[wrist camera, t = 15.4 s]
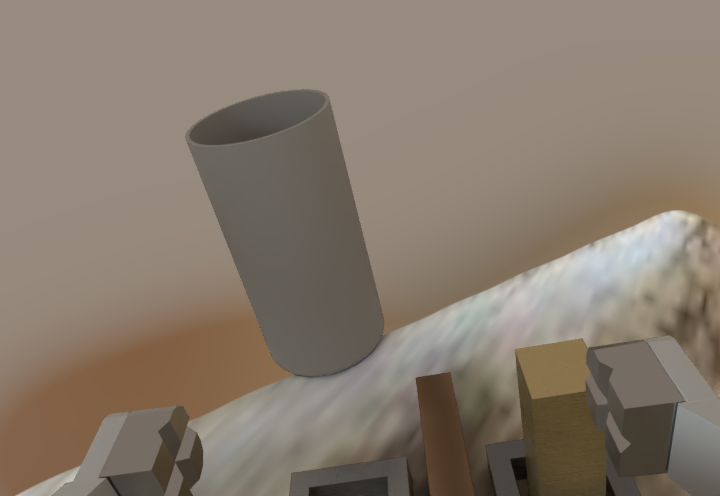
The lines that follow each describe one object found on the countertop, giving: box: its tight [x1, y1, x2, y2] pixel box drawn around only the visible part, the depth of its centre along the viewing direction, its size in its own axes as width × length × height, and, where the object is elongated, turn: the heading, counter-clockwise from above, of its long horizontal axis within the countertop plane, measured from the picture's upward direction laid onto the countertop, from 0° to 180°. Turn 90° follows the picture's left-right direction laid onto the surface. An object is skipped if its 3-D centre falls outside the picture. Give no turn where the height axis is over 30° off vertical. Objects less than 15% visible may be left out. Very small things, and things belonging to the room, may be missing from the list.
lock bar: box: [515, 339, 607, 496], centre depth 36 cm, size 4×4×14 cm
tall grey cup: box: [185, 89, 384, 376], centre depth 55 cm, size 12×12×25 cm
